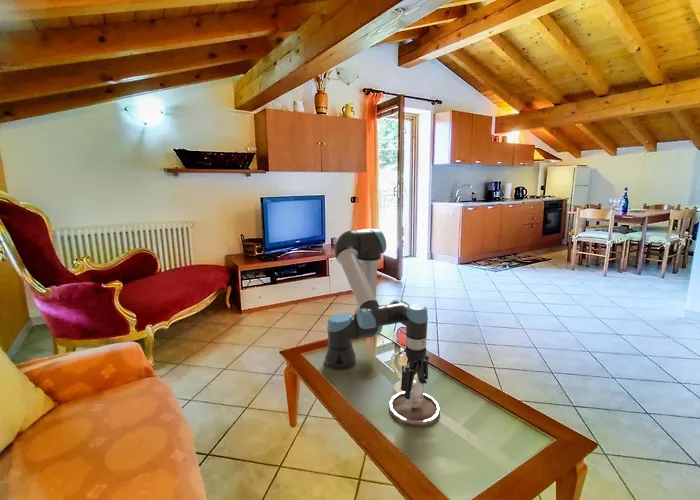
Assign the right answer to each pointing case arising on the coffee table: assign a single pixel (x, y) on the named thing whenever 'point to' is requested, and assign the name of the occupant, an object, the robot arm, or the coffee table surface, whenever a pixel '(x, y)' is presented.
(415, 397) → the lightbulb
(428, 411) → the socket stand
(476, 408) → the coffee table surface
